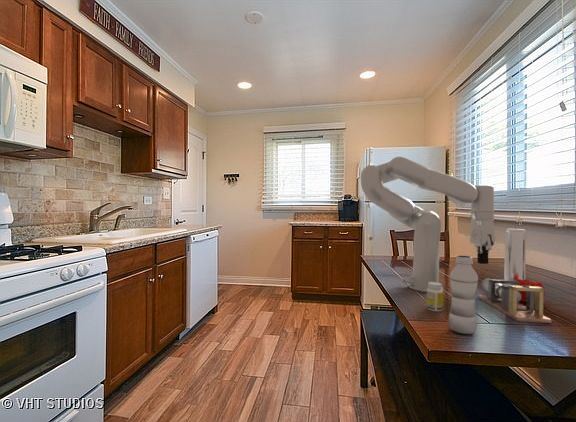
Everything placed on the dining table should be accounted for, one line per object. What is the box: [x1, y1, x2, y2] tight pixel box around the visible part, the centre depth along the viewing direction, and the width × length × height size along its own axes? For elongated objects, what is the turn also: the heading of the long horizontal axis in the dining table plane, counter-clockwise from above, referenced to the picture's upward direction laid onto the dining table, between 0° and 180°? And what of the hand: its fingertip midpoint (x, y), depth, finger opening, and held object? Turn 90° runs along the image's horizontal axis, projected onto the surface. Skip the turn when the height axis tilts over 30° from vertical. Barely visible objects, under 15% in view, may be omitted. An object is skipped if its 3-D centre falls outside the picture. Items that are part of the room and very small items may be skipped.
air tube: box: [481, 277, 521, 303], centre depth 106 cm, size 5×16×5 cm, turn 173°
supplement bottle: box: [426, 282, 444, 313], centre depth 98 cm, size 5×5×8 cm
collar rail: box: [478, 278, 552, 324], centre depth 99 cm, size 9×23×9 cm, turn 172°
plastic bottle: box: [448, 254, 479, 335], centre depth 80 cm, size 6×7×20 cm
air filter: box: [503, 228, 527, 285], centre depth 119 cm, size 6×6×25 cm
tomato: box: [516, 278, 546, 304], centre depth 107 cm, size 9×9×8 cm
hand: (482, 263), depth 119 cm, fingers closed
